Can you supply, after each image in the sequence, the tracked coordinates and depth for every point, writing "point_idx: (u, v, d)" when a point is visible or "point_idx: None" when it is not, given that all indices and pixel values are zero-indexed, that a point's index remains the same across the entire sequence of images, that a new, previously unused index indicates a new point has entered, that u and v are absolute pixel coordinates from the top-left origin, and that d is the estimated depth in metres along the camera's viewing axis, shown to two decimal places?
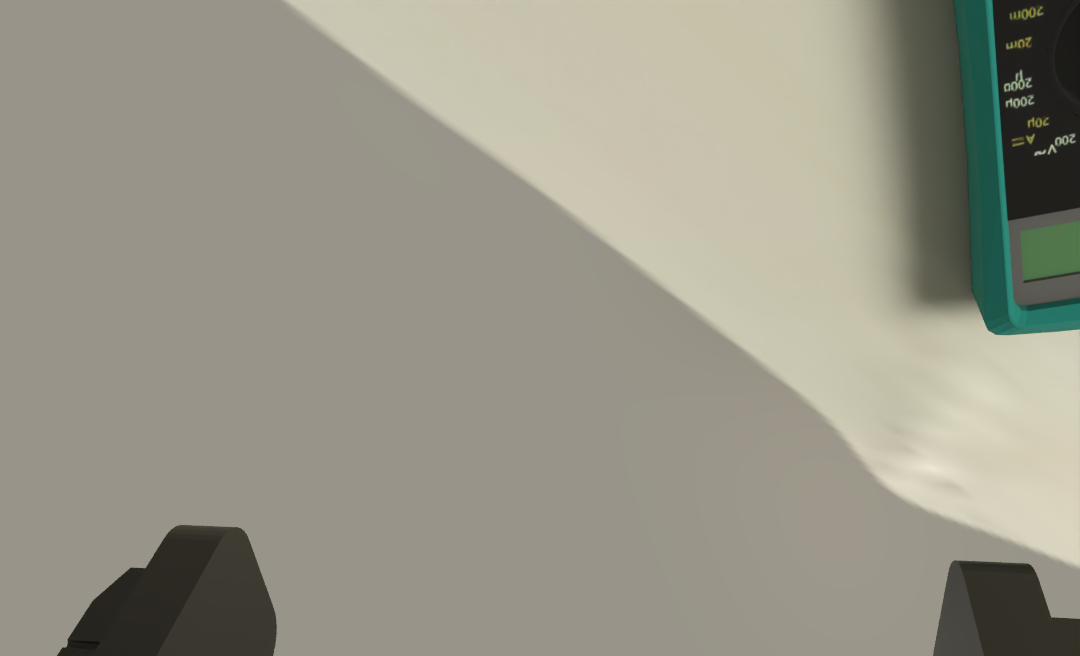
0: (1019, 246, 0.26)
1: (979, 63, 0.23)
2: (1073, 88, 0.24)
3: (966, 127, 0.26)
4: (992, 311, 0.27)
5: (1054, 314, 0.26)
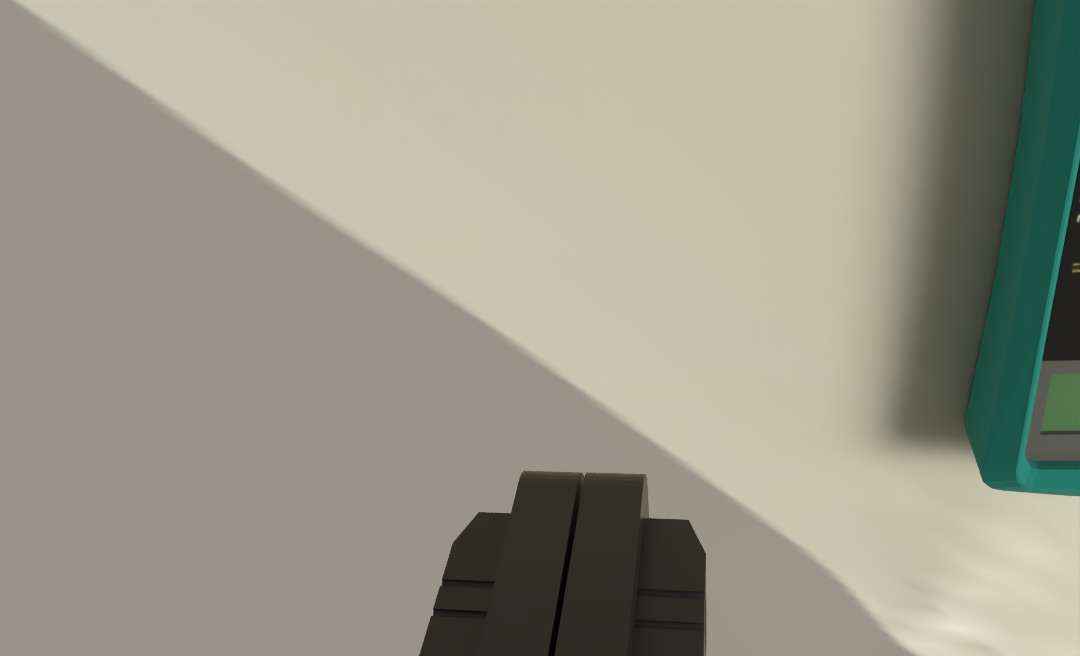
0: (1045, 391, 0.20)
1: (1055, 160, 0.17)
2: None
3: (1006, 231, 0.20)
4: (994, 462, 0.21)
5: (1070, 478, 0.21)
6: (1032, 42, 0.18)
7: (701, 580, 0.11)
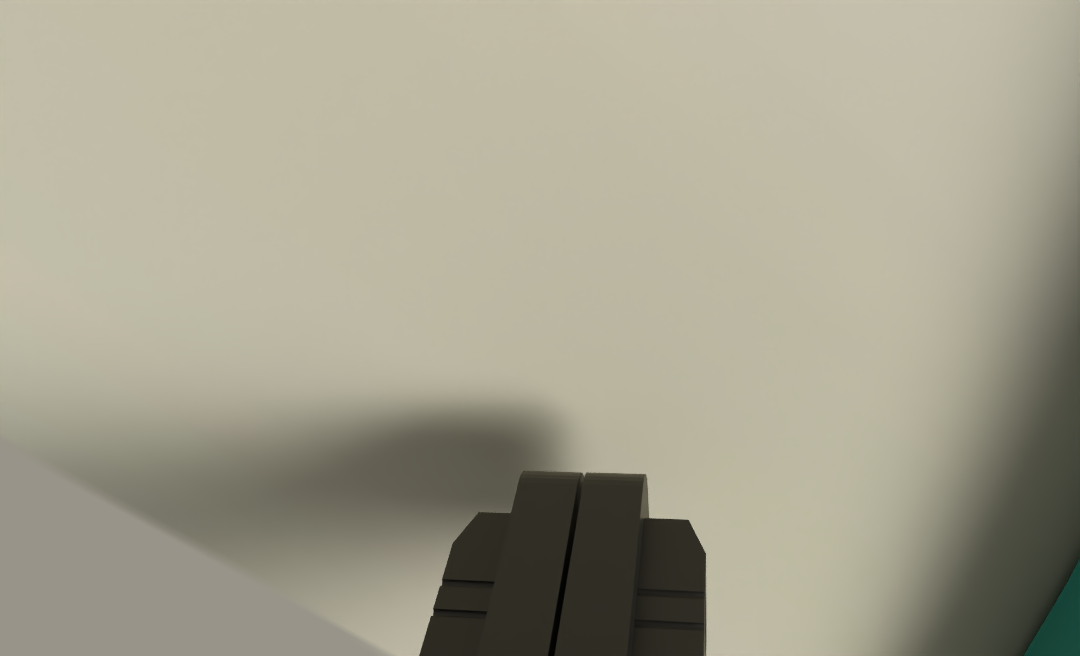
0: None
1: None
2: None
3: None
4: None
5: None
6: None
7: (701, 580, 0.11)
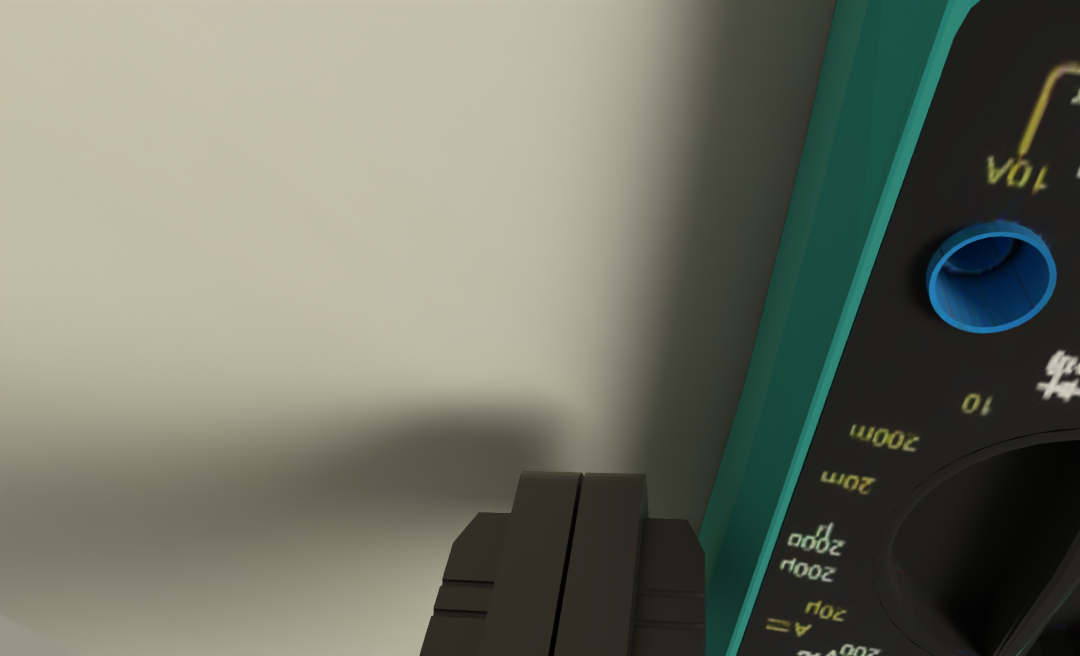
0: None
1: (760, 476, 0.11)
2: (908, 564, 0.12)
3: (706, 521, 0.13)
4: None
5: None
6: (772, 281, 0.11)
7: (701, 580, 0.11)
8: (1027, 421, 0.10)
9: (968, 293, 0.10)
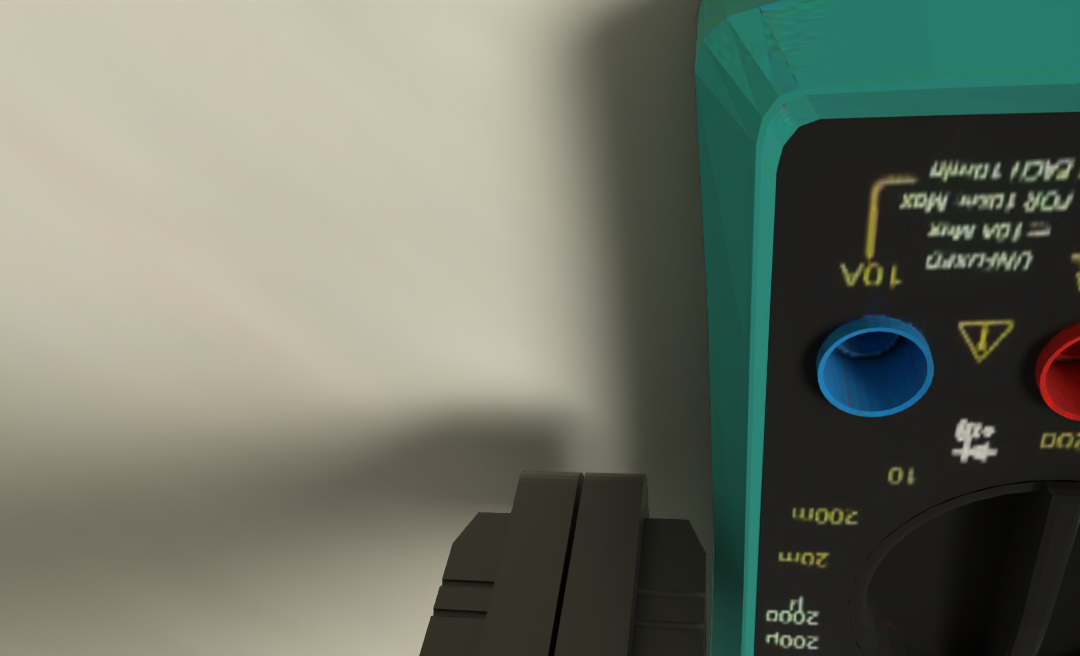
0: None
1: (725, 563, 0.12)
2: (897, 618, 0.12)
3: None
4: None
5: None
6: None
7: (701, 580, 0.11)
8: (955, 483, 0.10)
9: (871, 375, 0.10)
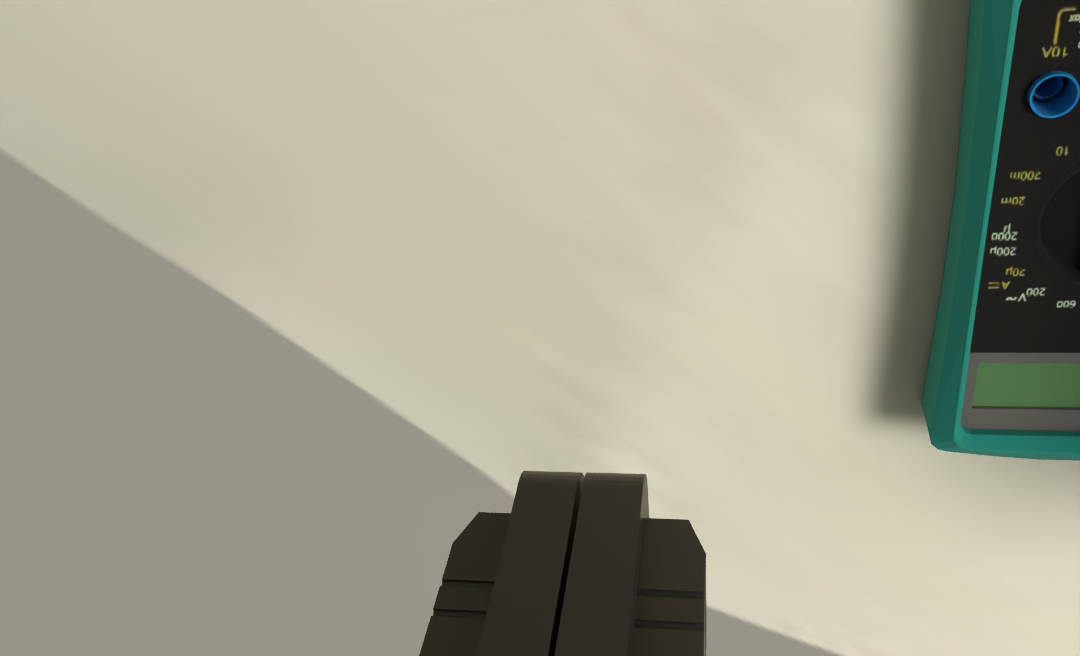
0: (974, 375, 0.28)
1: (973, 209, 0.25)
2: (1051, 246, 0.26)
3: (947, 258, 0.27)
4: (939, 428, 0.29)
5: (994, 441, 0.28)
6: (961, 127, 0.25)
7: (701, 580, 0.11)
8: None
9: (1048, 105, 0.24)
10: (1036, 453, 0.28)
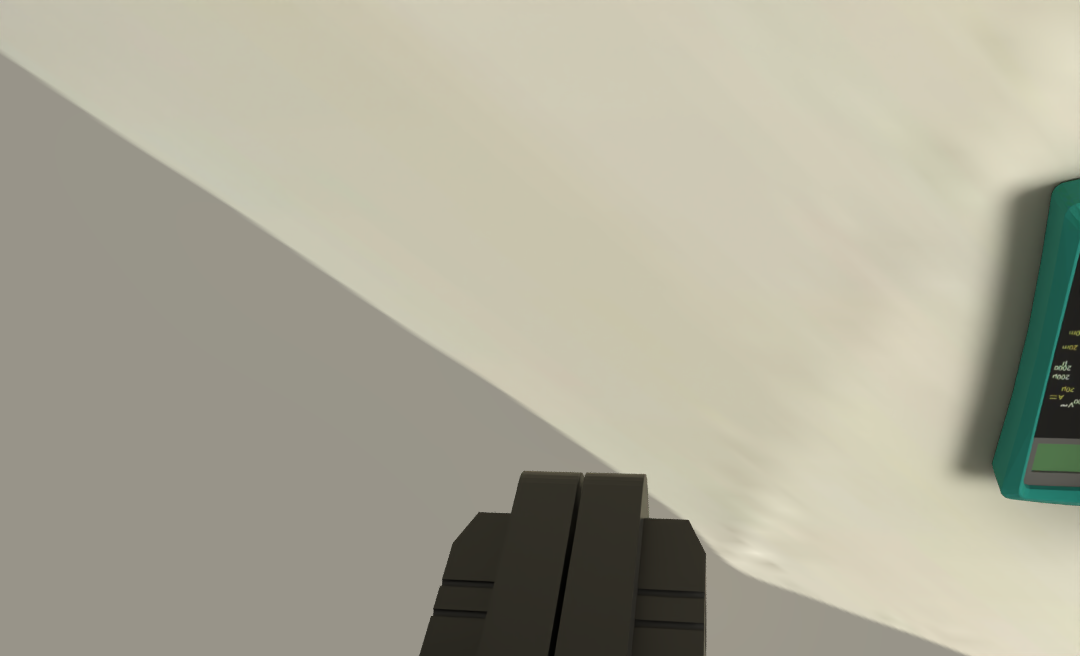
0: (1035, 451, 0.42)
1: (1043, 351, 0.39)
2: None
3: (1019, 374, 0.41)
4: (1008, 484, 0.43)
5: (1045, 494, 0.42)
6: (1035, 295, 0.39)
7: (701, 580, 0.11)
8: None
9: None
10: (1073, 502, 0.42)
